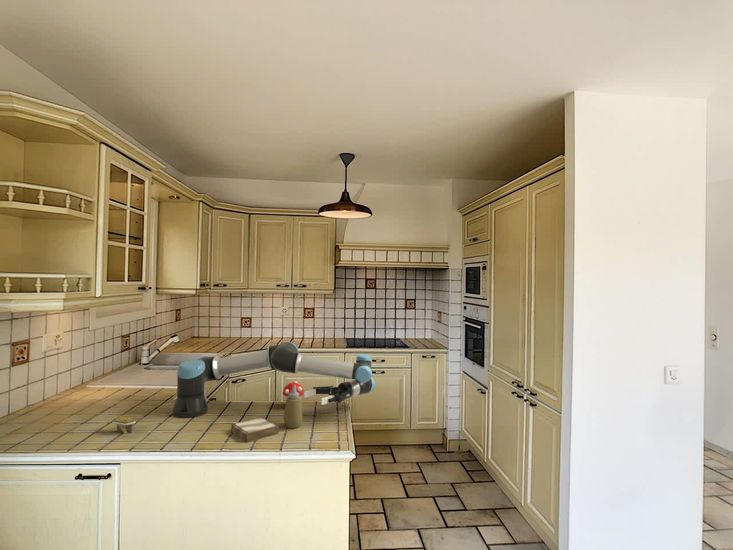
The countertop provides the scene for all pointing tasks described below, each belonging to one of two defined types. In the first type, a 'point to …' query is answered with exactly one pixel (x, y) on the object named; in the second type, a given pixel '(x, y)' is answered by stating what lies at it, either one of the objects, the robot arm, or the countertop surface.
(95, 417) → the countertop surface
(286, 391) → the mushroom
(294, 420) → the squeeze bottle
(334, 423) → the countertop surface
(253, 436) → the picture frame
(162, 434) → the countertop surface
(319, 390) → the robot arm
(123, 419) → the platform
